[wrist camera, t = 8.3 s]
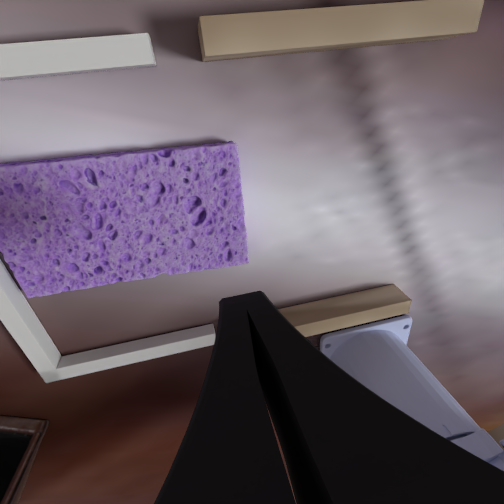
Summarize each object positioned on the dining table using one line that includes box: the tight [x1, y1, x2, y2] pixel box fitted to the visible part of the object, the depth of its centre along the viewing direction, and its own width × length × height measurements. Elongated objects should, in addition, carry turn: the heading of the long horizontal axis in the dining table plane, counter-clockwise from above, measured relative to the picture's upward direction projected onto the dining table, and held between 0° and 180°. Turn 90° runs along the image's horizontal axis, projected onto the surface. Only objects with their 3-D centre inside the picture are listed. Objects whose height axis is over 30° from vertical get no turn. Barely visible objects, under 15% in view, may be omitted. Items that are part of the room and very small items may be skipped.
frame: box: [0, 33, 216, 383], centre depth 15 cm, size 17×11×1 cm, turn 5°
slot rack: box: [198, 0, 484, 337], centre depth 16 cm, size 18×12×2 cm
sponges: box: [0, 141, 249, 298], centre depth 15 cm, size 7×13×2 cm, turn 94°
